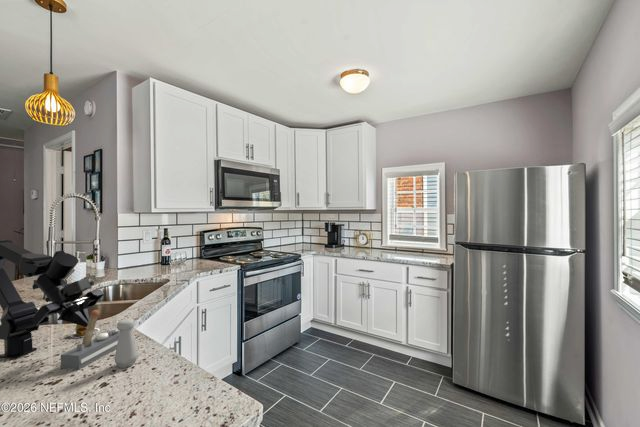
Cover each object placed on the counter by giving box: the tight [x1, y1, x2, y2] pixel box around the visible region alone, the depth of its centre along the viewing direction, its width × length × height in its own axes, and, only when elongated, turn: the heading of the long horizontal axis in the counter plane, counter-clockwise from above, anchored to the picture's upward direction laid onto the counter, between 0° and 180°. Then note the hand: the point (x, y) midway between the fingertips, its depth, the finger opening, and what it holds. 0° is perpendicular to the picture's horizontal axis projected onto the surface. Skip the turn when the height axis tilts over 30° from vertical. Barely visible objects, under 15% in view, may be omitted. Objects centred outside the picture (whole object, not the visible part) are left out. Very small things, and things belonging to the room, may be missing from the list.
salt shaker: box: [113, 318, 139, 369], centre depth 89 cm, size 6×6×13 cm
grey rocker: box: [106, 327, 120, 333], centre depth 102 cm, size 3×2×1 cm, turn 82°
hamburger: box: [69, 324, 101, 339], centre depth 113 cm, size 12×12×6 cm
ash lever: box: [81, 309, 101, 347], centre depth 92 cm, size 2×2×11 cm
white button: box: [95, 332, 108, 340], centre depth 98 cm, size 3×3×1 cm
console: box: [60, 330, 120, 371], centre depth 96 cm, size 6×18×6 cm, turn 172°
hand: (89, 325), depth 92 cm, fingers closed, pressing on ash lever
